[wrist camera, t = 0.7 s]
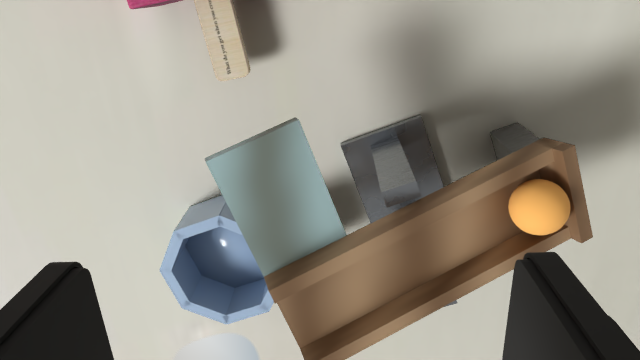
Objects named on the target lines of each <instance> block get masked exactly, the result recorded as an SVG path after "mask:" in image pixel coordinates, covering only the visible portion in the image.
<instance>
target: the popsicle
mask: <svg viewBox="0 0 640 360" xmlns="http://www.w3.org/2000/svg"><path fill="white" fill-rule="evenodd" d="M178 1H182V0H127V2H128V5H129V8H130V9H138V8H147V7H155V6H160V5H165V4H169V3H174V2H178ZM194 3H195V6H196V10H197V13H198V17H199V20H200V23H201V27H202V30H203V34H204V37H205V41H206V44H207V48H208V51H209V55H210V58H211V62H212V65H213V69H214V72H215V76H216V78H217V79H218V80H219V81H227V80H232V79H236V78H241V77H245V76H246V75H248V74H249V72H250V65H249V61H248V57H247V53H246V49H245V45H244V42H243V38H242V34H241V30H240V26H239V22H238V18H237V15H236V11H235V7H234V3H233V0H194Z"/></svg>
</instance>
